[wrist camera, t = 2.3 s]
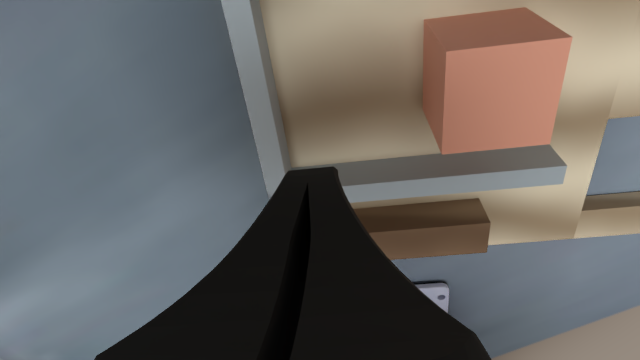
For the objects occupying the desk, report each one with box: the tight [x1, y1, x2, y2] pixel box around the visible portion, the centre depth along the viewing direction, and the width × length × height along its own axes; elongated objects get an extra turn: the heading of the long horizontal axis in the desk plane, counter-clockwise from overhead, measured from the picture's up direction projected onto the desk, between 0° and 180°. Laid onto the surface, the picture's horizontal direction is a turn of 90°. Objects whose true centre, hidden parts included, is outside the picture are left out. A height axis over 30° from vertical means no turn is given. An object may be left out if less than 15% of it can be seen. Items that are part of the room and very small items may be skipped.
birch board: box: [259, 0, 640, 245], centre depth 20 cm, size 17×26×1 cm, turn 97°
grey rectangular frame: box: [221, 0, 567, 203], centre depth 18 cm, size 11×14×2 cm
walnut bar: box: [353, 198, 491, 260], centre depth 23 cm, size 4×8×2 cm, turn 97°
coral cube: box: [423, 7, 573, 155], centre depth 17 cm, size 4×4×4 cm
